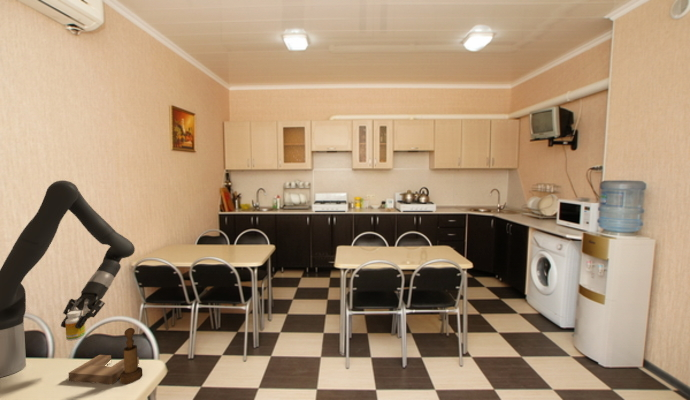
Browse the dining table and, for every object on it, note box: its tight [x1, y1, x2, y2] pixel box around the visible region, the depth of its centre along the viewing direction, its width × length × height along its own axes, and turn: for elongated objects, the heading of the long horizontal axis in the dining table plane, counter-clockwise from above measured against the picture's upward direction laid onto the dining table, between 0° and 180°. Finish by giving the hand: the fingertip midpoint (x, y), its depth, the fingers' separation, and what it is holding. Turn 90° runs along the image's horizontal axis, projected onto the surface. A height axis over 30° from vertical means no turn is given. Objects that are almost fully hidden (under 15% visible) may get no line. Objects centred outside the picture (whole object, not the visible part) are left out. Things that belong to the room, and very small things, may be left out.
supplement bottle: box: [65, 309, 86, 342], centre depth 116 cm, size 5×5×10 cm
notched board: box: [68, 354, 140, 385], centre depth 115 cm, size 17×12×3 cm
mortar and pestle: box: [119, 327, 144, 385], centre depth 111 cm, size 7×6×18 cm
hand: (70, 327), depth 115 cm, fingers closed on supplement bottle, 5 cm apart
